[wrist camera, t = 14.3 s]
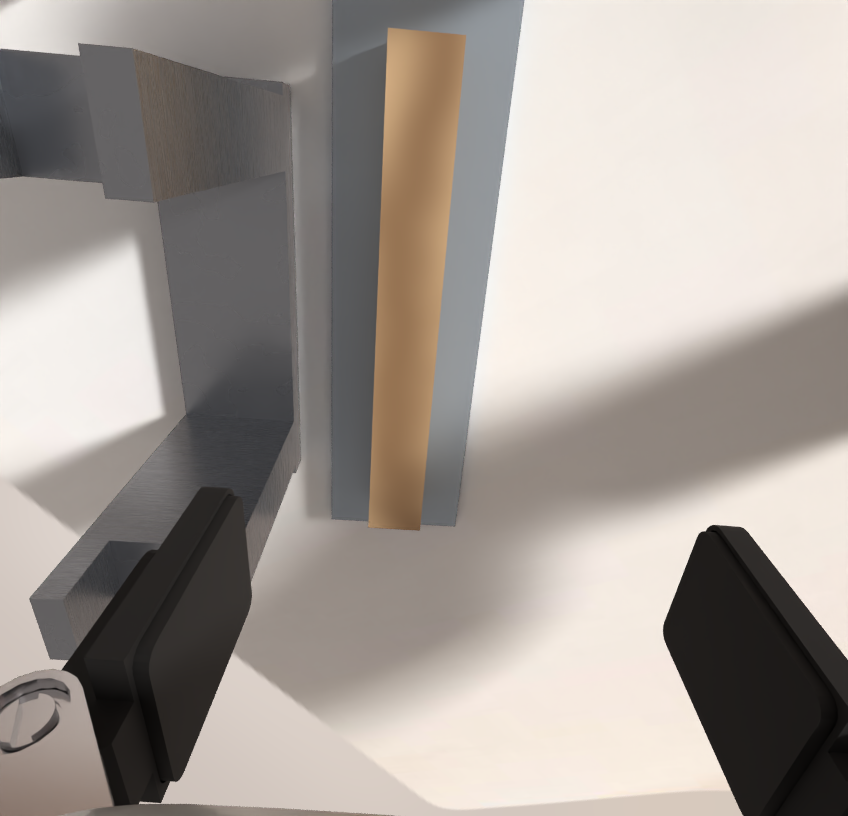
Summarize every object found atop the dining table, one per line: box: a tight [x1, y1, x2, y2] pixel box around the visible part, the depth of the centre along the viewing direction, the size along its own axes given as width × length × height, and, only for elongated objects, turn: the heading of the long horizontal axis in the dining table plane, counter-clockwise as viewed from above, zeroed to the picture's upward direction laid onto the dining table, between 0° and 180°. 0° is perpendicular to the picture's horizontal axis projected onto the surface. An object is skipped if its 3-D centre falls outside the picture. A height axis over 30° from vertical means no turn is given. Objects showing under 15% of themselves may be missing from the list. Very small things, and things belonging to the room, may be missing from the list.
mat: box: [332, 0, 524, 526], centre depth 29 cm, size 8×28×1 cm, turn 175°
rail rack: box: [0, 43, 301, 660], centre depth 22 cm, size 6×20×15 cm, turn 176°
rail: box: [368, 28, 466, 530], centre depth 27 cm, size 3×24×3 cm, turn 176°
